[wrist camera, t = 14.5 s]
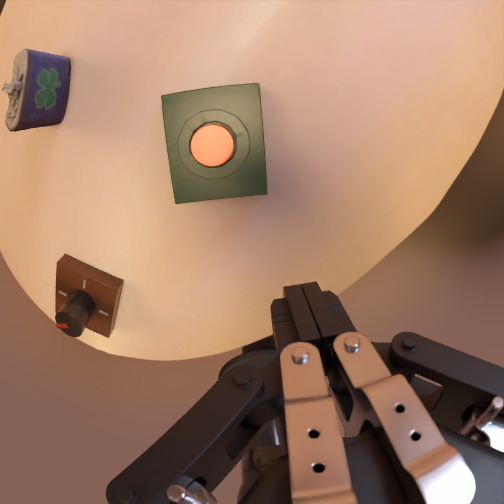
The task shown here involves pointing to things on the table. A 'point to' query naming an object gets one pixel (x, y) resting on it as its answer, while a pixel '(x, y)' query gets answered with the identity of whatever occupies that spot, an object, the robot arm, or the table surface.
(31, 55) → the flask
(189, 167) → the button box
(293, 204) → the table surface
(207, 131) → the button
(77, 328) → the knob
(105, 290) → the panel
